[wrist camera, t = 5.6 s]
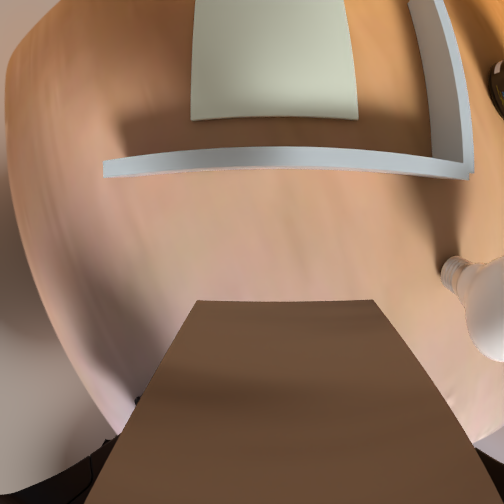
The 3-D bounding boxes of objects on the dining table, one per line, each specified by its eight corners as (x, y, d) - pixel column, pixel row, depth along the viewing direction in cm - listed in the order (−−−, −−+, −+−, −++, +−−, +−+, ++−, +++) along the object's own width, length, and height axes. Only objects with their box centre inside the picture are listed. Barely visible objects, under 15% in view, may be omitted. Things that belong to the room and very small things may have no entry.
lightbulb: (412, 244, 18) (513, 303, 8) (472, 220, 18) (573, 255, 7) (421, 317, 20) (494, 400, 9) (477, 290, 19) (557, 349, 8)
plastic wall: (442, 179, 17) (474, 181, 13) (132, 176, 19) (103, 177, 15) (417, 6, 13) (437, -15, 9) (144, 1, 15) (125, -22, 11)
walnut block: (347, 419, 9) (381, 585, 2) (212, 420, 9) (170, 589, 2) (373, 299, 8) (508, 515, 1) (196, 300, 8) (66, 539, 1)
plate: (356, 120, 17) (358, 119, 16) (192, 121, 17) (190, 120, 17) (341, -4, 14) (342, -6, 14) (196, -2, 15) (195, -5, 14)
